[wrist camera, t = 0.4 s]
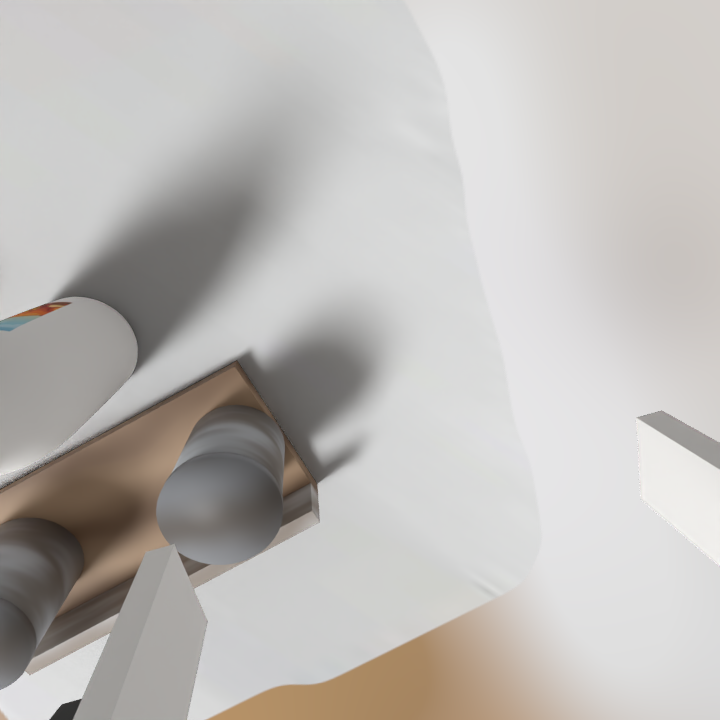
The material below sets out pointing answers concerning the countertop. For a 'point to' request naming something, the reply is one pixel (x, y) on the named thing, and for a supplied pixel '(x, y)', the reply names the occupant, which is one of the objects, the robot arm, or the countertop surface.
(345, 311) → the countertop surface
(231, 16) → the countertop surface
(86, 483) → the rack
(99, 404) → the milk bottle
